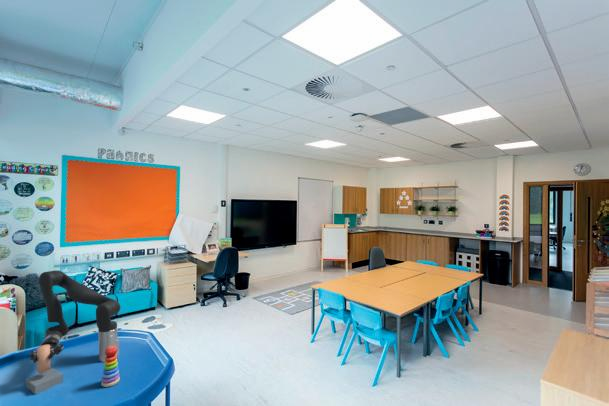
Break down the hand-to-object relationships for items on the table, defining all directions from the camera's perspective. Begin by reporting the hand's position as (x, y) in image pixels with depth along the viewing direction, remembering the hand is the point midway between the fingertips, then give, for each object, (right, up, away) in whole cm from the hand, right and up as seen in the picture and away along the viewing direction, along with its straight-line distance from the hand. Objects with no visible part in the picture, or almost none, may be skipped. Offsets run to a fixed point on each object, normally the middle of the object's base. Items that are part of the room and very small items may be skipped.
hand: (42, 359), depth 149 cm
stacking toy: (+31, -14, +4) cm, 35 cm away
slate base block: (-1, -14, +3) cm, 15 cm away
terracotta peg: (-1, -7, +2) cm, 7 cm away
